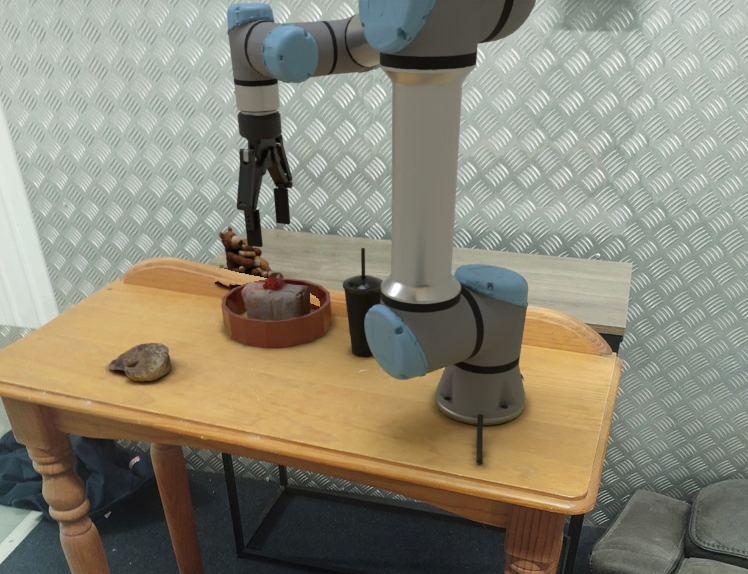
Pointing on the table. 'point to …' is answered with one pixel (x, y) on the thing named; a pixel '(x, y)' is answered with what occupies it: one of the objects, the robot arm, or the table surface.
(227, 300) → the reddish-brown round ring
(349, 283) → the drinking cup
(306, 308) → the food item
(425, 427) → the table surface
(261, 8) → the robot arm
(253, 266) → the bear figurine
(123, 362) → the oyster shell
